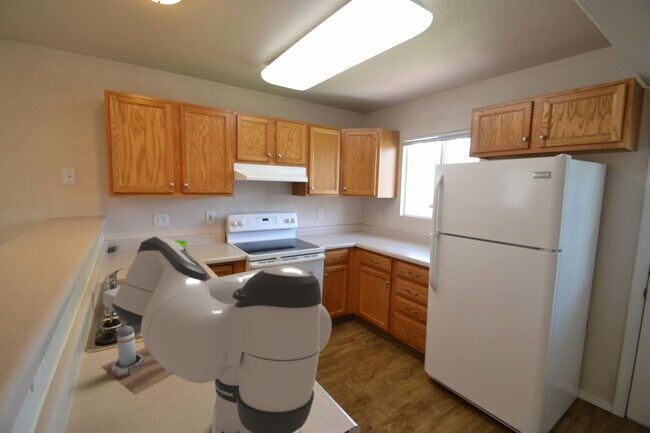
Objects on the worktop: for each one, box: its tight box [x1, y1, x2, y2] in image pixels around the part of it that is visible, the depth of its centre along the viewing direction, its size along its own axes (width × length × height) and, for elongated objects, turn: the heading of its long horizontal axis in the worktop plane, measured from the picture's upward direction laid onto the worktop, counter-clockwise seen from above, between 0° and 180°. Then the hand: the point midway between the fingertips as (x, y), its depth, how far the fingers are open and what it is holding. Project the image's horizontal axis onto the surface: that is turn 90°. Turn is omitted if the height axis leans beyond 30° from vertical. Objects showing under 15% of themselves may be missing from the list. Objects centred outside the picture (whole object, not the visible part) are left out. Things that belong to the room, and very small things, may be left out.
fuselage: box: [116, 325, 137, 368], centre depth 93 cm, size 5×5×14 cm
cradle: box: [112, 353, 145, 377], centre depth 94 cm, size 8×8×2 cm
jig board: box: [101, 346, 173, 396], centre depth 96 cm, size 22×17×1 cm
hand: (138, 283), depth 83 cm, fingers open, 8 cm apart
